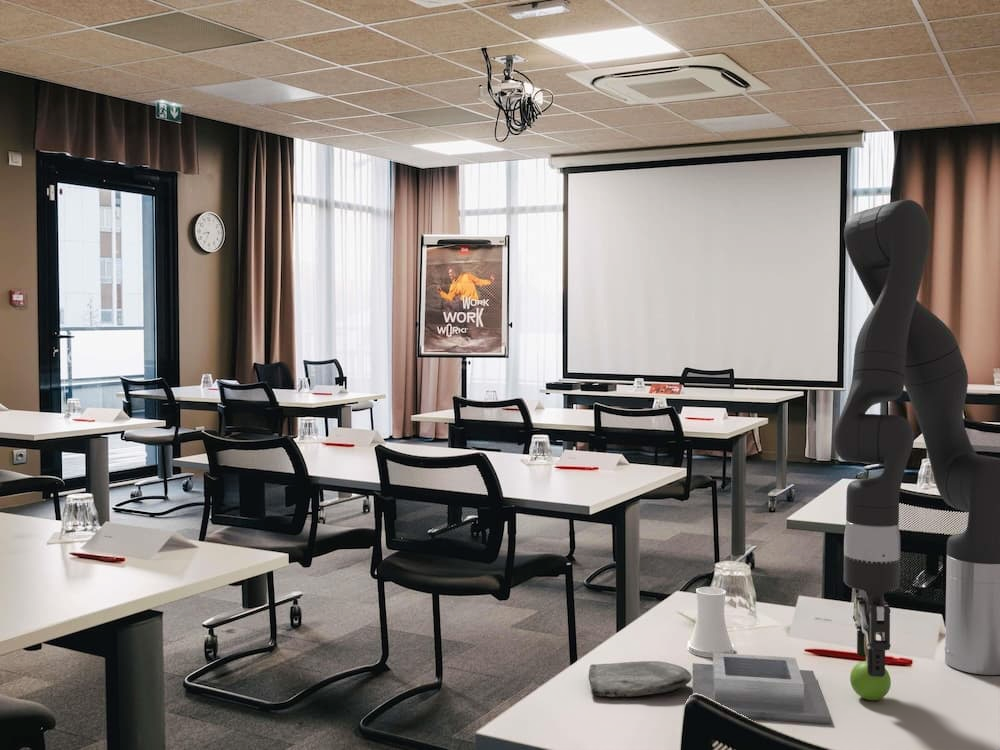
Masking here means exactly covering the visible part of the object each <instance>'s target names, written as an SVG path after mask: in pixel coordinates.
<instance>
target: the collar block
mask: <svg viewBox="0 0 1000 750" xmlns="http://www.w3.org/2000/svg"><path fill="white" fill-rule="evenodd" d="M693 693H698V694H702V695H704V696H706V697H708V698H710V699H712V700H714V701H716V702H718V703H720V704H721V705H724V706H726V707H728V708H730V709H732V710H734V711H736V712H737V713H739V714H742V715H744V716H746V717H748V718H747V719H750V718H751V719H753V720H764V721H765V720H766V721H777V722H778V721H780V722H792V723H793V722H794V723H804V724H805V723H806V724H821V725H831V715H830V713H829V710H828V707H827V705H826V702H825V699H824V697H823V695H822V691H821V689H820V686H819V683H818V681H817V678H816V676H815V672H814V670H808V669H807V670H805V669H800V668H799V665H798V662H797V659H796V657H789V656H787V657H786V656H772V655H771V656H770V655H759V654H758V655H756V654H755V655H754V654H739V653H733V654H725V653H713V657H712V664H710V663H697V662H696V663H695V662H692V694H693ZM751 719H750V720H751Z"/></svg>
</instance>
